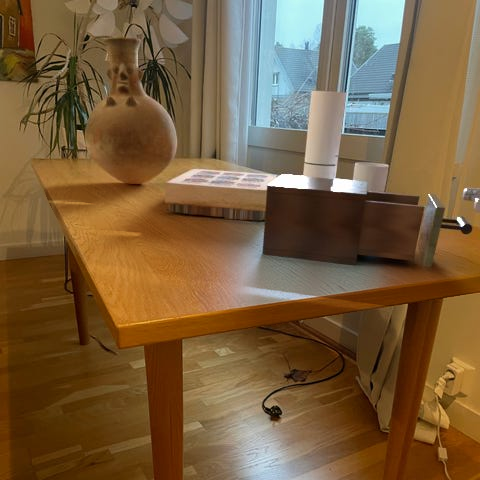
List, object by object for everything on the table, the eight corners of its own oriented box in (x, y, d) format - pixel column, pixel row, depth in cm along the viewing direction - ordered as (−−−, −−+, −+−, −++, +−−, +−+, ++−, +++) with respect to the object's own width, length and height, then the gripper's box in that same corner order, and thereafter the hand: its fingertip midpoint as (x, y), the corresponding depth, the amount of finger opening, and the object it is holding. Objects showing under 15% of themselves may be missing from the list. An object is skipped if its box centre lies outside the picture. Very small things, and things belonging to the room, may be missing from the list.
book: (183, 192, 126) (151, 212, 100) (184, 166, 123) (151, 181, 98) (276, 199, 123) (267, 222, 98) (278, 173, 121) (270, 190, 95)
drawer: (455, 250, 82) (468, 197, 78) (466, 271, 71) (482, 211, 67) (345, 238, 86) (352, 186, 82) (340, 256, 75) (348, 198, 71)
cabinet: (358, 244, 86) (368, 181, 81) (355, 265, 75) (366, 194, 70) (276, 235, 89) (281, 174, 84) (262, 254, 78) (267, 185, 73)
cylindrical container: (335, 212, 110) (351, 93, 100) (323, 217, 104) (339, 91, 94) (306, 207, 113) (319, 91, 103) (294, 212, 108) (306, 90, 97)
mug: (377, 228, 98) (388, 167, 93) (344, 224, 100) (353, 164, 95) (381, 218, 106) (390, 162, 101) (351, 214, 108) (359, 159, 103)
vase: (104, 175, 143) (94, 41, 128) (183, 179, 143) (182, 45, 128) (76, 188, 122) (60, 29, 107) (169, 193, 121) (167, 34, 106)
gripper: (590, 246, 62) (476, 235, 65) (541, 215, 80) (454, 207, 83) (608, 197, 59) (489, 187, 62) (553, 176, 77) (462, 169, 80)
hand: (468, 198), depth 72 cm, fingers open, 8 cm apart
